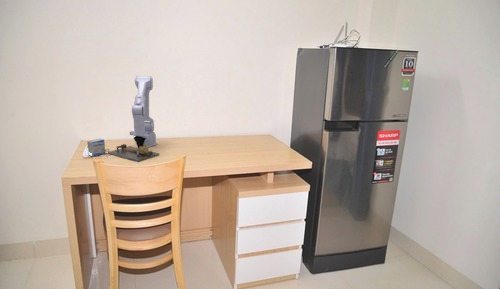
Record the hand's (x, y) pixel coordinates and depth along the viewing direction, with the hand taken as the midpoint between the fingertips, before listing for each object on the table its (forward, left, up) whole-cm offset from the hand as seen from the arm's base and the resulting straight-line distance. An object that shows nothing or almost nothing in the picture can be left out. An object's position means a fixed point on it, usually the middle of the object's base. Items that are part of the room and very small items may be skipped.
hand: (140, 148), depth 189 cm
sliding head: (+1, +3, -3) cm, 4 cm away
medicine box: (+14, -20, -4) cm, 25 cm away
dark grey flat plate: (+1, -4, -4) cm, 6 cm away
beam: (+2, -3, -3) cm, 5 cm away
